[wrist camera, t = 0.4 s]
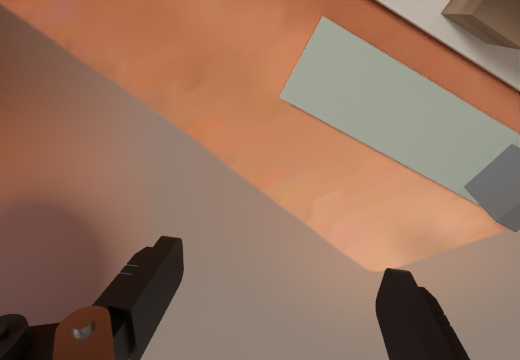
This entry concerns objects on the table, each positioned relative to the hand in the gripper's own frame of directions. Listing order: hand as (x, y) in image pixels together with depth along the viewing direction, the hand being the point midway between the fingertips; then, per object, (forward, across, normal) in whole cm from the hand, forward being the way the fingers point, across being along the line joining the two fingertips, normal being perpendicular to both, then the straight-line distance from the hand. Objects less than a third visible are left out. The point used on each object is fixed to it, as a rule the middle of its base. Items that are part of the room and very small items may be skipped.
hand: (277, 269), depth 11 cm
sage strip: (+22, -12, -2) cm, 25 cm away
